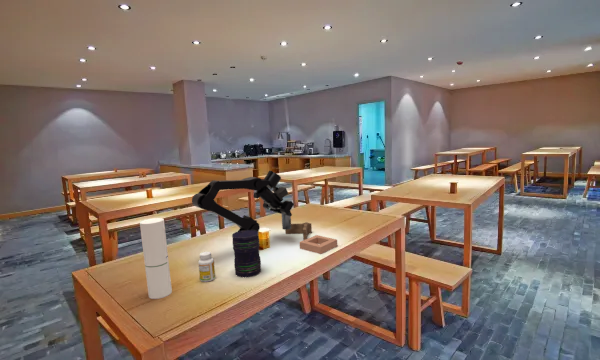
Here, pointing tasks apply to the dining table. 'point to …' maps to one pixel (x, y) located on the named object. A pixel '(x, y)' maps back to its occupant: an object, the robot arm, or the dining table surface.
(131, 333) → the dining table surface
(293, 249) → the dining table surface
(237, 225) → the robot arm
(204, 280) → the supplement bottle
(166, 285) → the cylindrical container
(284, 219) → the steel axle
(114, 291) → the dining table surface
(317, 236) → the sleeve block
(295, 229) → the v block
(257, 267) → the storage jar
